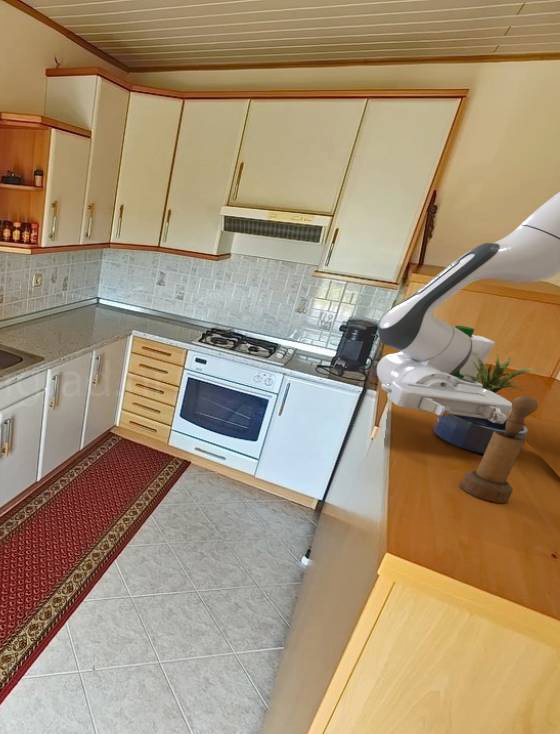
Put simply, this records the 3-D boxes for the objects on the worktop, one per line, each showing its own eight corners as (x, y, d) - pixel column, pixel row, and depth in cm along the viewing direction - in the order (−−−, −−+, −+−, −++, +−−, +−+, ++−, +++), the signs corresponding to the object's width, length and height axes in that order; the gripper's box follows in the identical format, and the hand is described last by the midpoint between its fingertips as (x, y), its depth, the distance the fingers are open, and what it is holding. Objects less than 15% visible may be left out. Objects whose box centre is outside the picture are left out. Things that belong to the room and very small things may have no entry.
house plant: (524, 437, 112) (557, 370, 106) (450, 420, 118) (477, 355, 112) (508, 418, 123) (537, 357, 118) (442, 403, 130) (466, 344, 124)
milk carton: (421, 391, 138) (447, 322, 131) (458, 398, 135) (488, 328, 129) (431, 401, 130) (460, 329, 123) (472, 409, 128) (504, 335, 121)
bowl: (503, 440, 109) (514, 416, 107) (525, 466, 97) (538, 439, 95) (426, 423, 115) (436, 399, 112) (438, 445, 103) (449, 419, 101)
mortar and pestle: (455, 478, 89) (496, 386, 82) (499, 489, 86) (545, 396, 80) (465, 495, 83) (510, 398, 77) (513, 508, 81) (564, 408, 74)
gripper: (381, 369, 102) (418, 392, 90) (487, 383, 100) (540, 408, 87) (372, 397, 105) (406, 423, 92) (474, 411, 102) (525, 439, 89)
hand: (473, 416), depth 89 cm, fingers open, 8 cm apart
